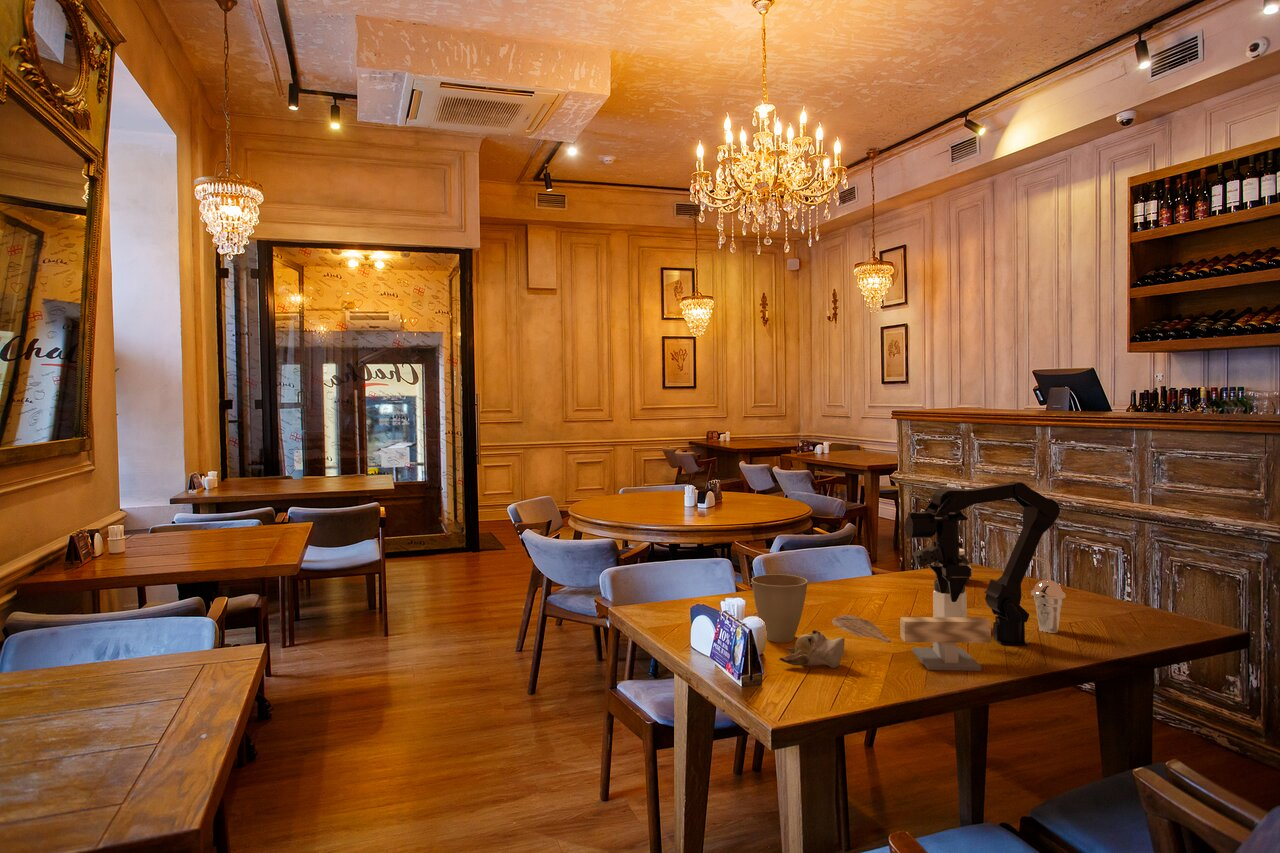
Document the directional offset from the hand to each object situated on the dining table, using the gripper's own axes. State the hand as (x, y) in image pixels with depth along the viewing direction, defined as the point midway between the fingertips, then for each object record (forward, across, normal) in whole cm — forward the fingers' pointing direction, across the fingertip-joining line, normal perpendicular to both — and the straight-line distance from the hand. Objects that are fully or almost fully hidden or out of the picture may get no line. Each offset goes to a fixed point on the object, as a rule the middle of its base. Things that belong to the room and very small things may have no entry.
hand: (948, 597), depth 196 cm
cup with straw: (+12, -13, +30) cm, 35 cm away
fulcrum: (+12, +14, -5) cm, 19 cm away
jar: (+12, -19, +6) cm, 23 cm away
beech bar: (+7, +14, -5) cm, 16 cm away
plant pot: (+12, -3, -43) cm, 45 cm away
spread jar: (+12, -75, +25) cm, 80 cm away
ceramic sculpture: (+12, +18, -37) cm, 43 cm away
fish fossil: (+13, -12, -20) cm, 27 cm away
